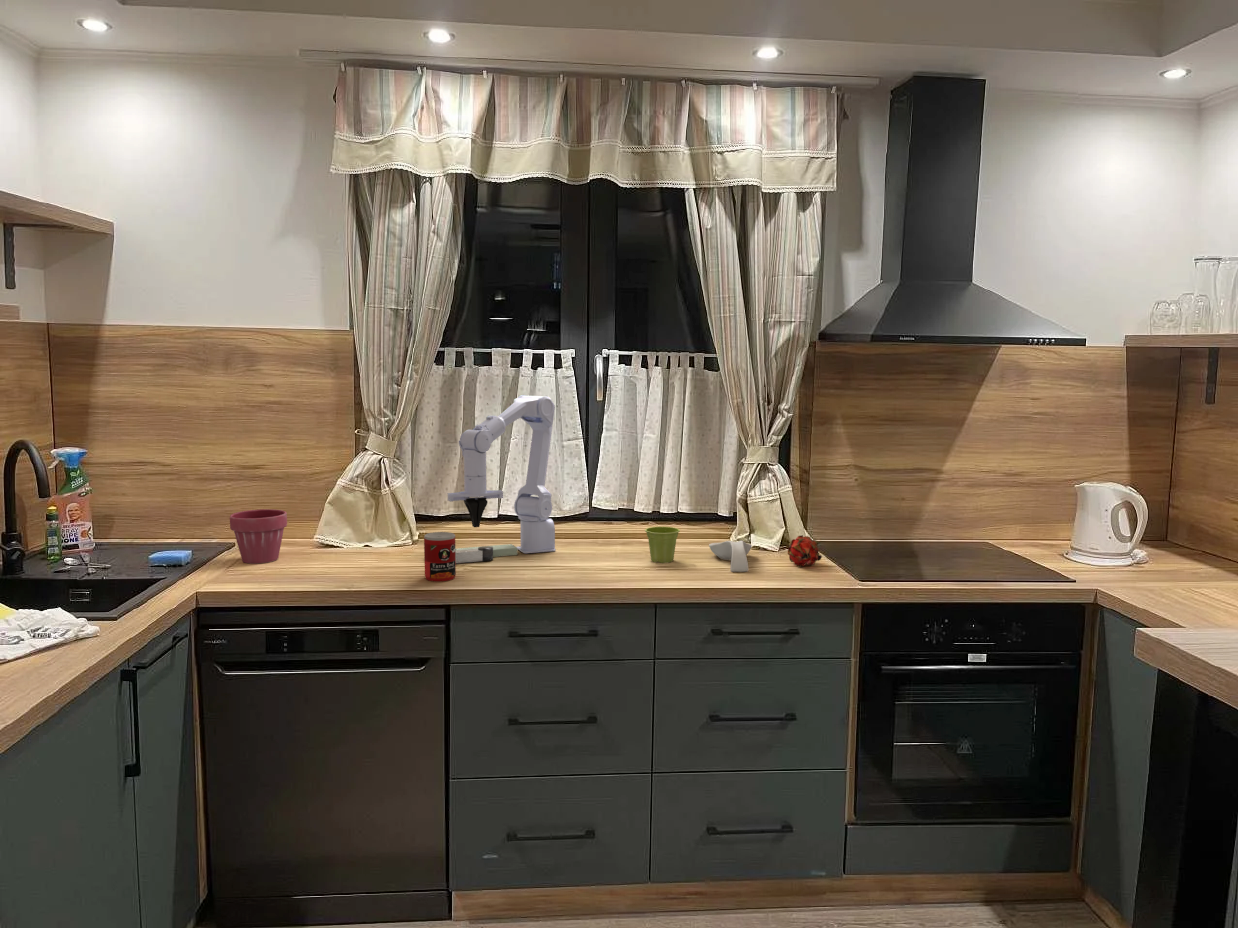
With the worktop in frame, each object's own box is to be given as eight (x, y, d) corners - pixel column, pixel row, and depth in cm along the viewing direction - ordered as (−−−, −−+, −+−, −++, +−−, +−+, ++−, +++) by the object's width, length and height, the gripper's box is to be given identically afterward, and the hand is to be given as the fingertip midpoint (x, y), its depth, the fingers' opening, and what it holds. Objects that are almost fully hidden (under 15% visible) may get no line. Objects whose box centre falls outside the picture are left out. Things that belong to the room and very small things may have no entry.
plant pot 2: (653, 565, 247) (653, 533, 246) (639, 558, 256) (639, 527, 255) (685, 563, 250) (685, 531, 249) (670, 556, 259) (670, 525, 258)
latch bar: (490, 557, 255) (490, 545, 255) (494, 560, 251) (494, 548, 251) (438, 561, 249) (438, 550, 249) (441, 564, 245) (441, 553, 245)
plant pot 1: (229, 567, 241) (227, 519, 240) (233, 556, 255) (231, 510, 253) (288, 564, 246) (286, 516, 244) (288, 553, 259) (287, 507, 258)
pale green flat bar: (511, 550, 264) (511, 544, 264) (517, 554, 259) (517, 547, 259) (427, 558, 254) (427, 550, 254) (431, 562, 249) (431, 554, 249)
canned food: (429, 583, 227) (429, 539, 226) (420, 576, 234) (420, 533, 233) (460, 579, 230) (459, 536, 229) (450, 573, 237) (449, 530, 236)
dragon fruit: (804, 565, 256) (807, 581, 245) (779, 547, 256) (781, 563, 244) (823, 542, 254) (828, 558, 242) (799, 524, 253) (802, 539, 242)
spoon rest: (706, 553, 264) (706, 528, 263) (747, 553, 264) (747, 528, 264) (718, 573, 240) (718, 545, 240) (763, 573, 241) (764, 546, 240)
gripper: (497, 472, 250) (497, 522, 252) (444, 475, 244) (444, 525, 245) (505, 475, 244) (505, 526, 245) (451, 478, 237) (451, 530, 239)
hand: (475, 526), depth 245 cm, fingers closed
